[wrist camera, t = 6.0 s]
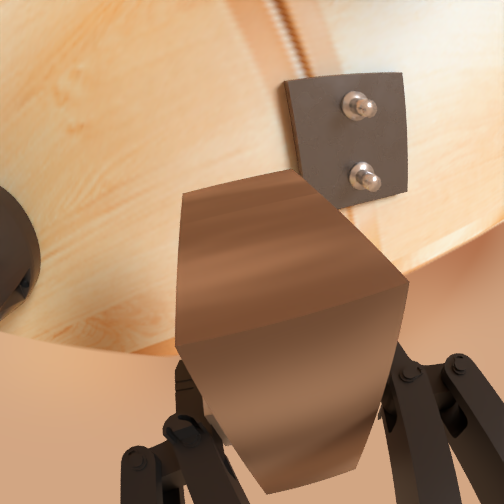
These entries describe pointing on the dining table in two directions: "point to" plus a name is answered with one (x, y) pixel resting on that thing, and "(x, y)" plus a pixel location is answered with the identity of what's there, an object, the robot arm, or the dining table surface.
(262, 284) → the door
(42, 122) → the dining table surface
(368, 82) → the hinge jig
